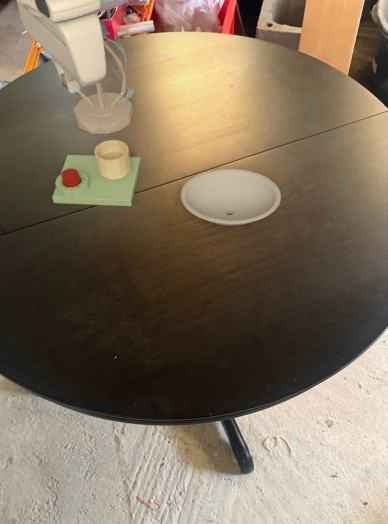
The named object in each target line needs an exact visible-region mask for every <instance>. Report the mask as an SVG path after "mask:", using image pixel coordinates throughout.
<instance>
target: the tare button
mask: <svg viewBox="0 0 388 524" xmlns="http://www.w3.org/2000/svg"><path fill="white" fill-rule="evenodd" d="M61 172H62V171H61ZM60 175H61V176H62V180H63V183H64V185H65V186H66V187H75V186H78V185H79V184H80V182H81V180H80V176H79V173H78V171H77V170H76V169H73V168H70V169H66V170H64V171H63V172H62V174H61V173H60Z"/></svg>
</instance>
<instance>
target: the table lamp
mask: <svg viewBox="0 0 388 524" xmlns="http://www.w3.org/2000/svg"><path fill="white" fill-rule="evenodd" d="M129 1H130V0H100V4H101V8H100V10H97V11H95V12H96V14H97V13H101V12H106V15H107V17H108V22H109V23H111V15H112V13H111V11H110V10H112V9H114V8H117V7H119V6H122V5H124V4H126V3H128V2H129ZM99 21H100V25H101V29H102V35H103V42H104V49H106V50H107V51H108V53H109V54H110V55H111V56H112V58H113V59H114V61H115V62H116V64H117V67H118V69H117V70H115V68H114V67H112V66H110V68H111V70H113V73H114V74H115V75H116V76H117V78H118V79H120V80H121V91H120V93H118V92H103V87H102V81H100V82H98V83H95V88H96V93H94V94H91V95H88V96H87V95H86V94H85V93H84V92H82V90H81V89H80V90H79V91H77V92H74V93H70V92H69V91H68V90H67V89H66V91H67V92H68V93H70V94H71V95H75V96H78V97H80V98H81V99H79V101H78V103H76V106H75V107H74V108H73V114H74V117H75V120H76V124H77V127H78V128H79V129H81V130H82V131H85V132H87V133H89V134H91V135H110V134H114V133H116V132H120V131H122V130H123V129H124V128H125V129H126V127H128V126H129V125H131V122H132V119H133V115H134V108H133V103H132V102H131V101H130V98H132V97H133V94H134V90H135V89H134V87H133V88H131V89H130V88H129V86H128V85H127V75H126V72H125V67H126V65H127V63H128V57H127V55H126V51H125V49H124V47H123V45H122V44H121V42H119V41H117V40H112V39H111V38H108V37H107V36H110V35H111V34H110V32H109V31H108V30H107V27H108V26H106V24H105V22H104V21H103V19H101V18H99ZM105 39H106V40H108V41H109V42H111V43H113V44H114V45H116V47H117V49H118V51H120V52H121V53H122V55H123V57H124V62H123V63H122V61H121V60H120V58H119V57H118V56H117V54H116V53H115V52H114V51H113V49H112V48H111V47H110V46H109V44H108V42H107V41H105ZM120 73H121V74H120ZM126 89H127V90H126ZM124 95H125V96H124Z"/></svg>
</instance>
